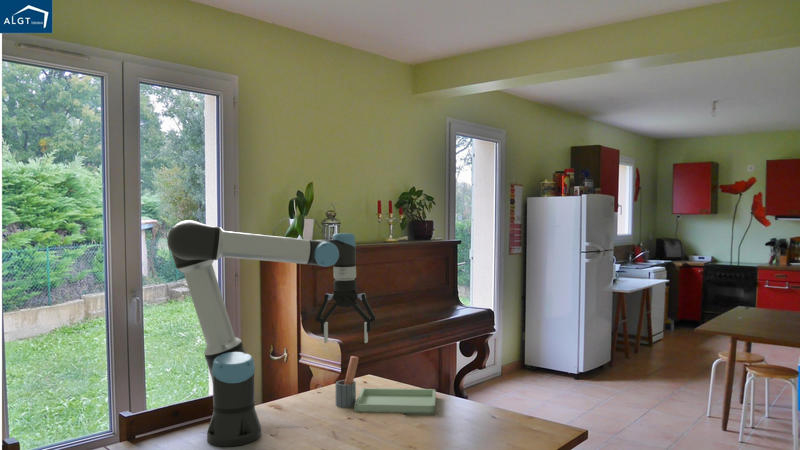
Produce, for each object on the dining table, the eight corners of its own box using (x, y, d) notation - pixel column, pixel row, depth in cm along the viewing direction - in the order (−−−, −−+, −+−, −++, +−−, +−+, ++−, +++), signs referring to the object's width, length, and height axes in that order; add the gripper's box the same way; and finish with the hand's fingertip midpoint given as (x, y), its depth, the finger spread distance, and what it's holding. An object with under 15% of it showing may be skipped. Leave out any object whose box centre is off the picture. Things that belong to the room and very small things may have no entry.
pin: (338, 405, 192) (340, 357, 191) (340, 402, 194) (341, 355, 194) (356, 406, 191) (358, 357, 191) (358, 403, 194) (359, 355, 194)
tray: (354, 413, 185) (354, 404, 185) (362, 396, 203) (362, 388, 203) (434, 414, 184) (434, 405, 184) (435, 397, 202) (435, 389, 201)
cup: (334, 409, 190) (334, 385, 190) (337, 402, 196) (337, 379, 196) (354, 409, 189) (353, 385, 189) (357, 403, 196) (356, 379, 196)
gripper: (305, 280, 189) (306, 344, 190) (380, 280, 188) (381, 344, 188) (310, 278, 197) (312, 339, 197) (383, 277, 195) (384, 339, 195)
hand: (346, 342), depth 193 cm, fingers open, 13 cm apart
